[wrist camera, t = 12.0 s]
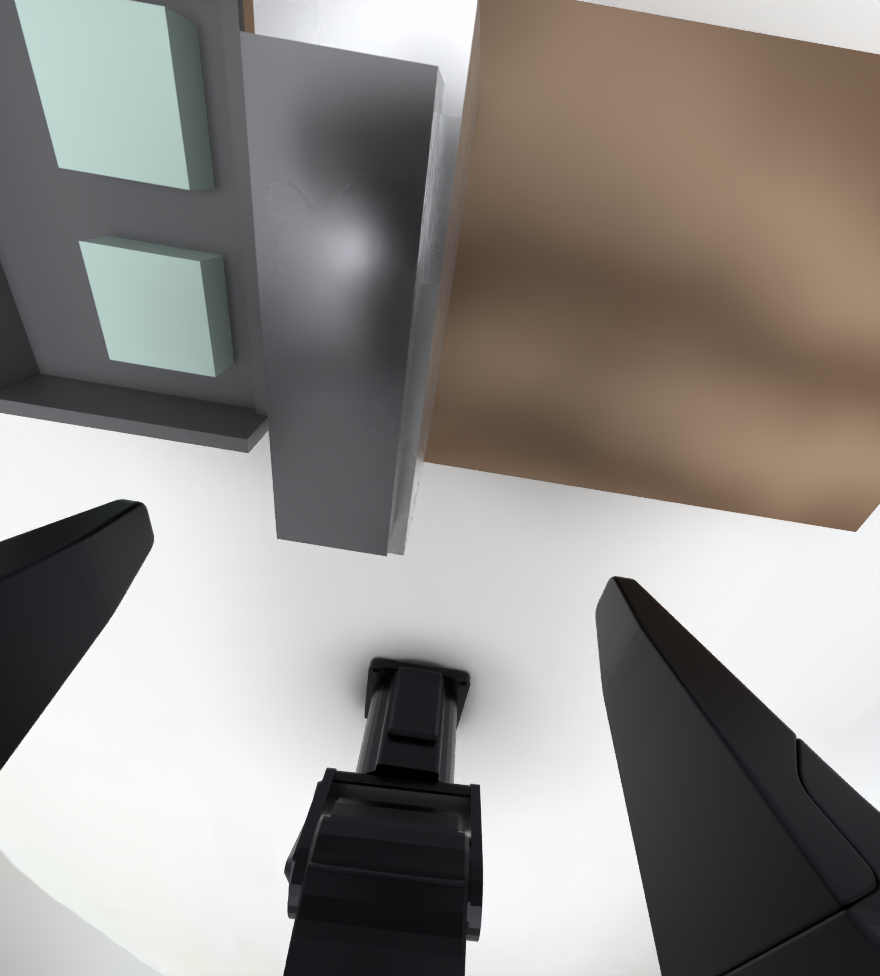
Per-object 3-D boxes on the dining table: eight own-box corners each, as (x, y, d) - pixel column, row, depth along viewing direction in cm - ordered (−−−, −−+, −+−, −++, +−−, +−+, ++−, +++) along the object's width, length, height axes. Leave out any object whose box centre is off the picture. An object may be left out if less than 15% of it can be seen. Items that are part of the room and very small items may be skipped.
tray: (277, 420, 20) (248, 452, 18) (39, 381, 20) (-24, 409, 18) (248, -39, 13) (190, -93, 10) (-139, -107, 12) (-294, -180, 10)
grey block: (432, 419, 18) (395, 590, 11) (357, 406, 18) (266, 569, 10) (481, 90, 13) (478, -52, 5) (372, 71, 13) (202, -102, 5)
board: (833, 510, 21) (855, 531, 20) (286, 421, 20) (273, 437, 19) (1138, 120, 13) (1208, 113, 12) (262, -36, 13) (238, -60, 11)
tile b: (214, 189, 15) (189, 190, 14) (95, 168, 15) (58, 167, 14) (196, 24, 13) (164, 6, 12) (57, -1, 13) (8, -22, 12)
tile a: (234, 363, 19) (215, 377, 17) (136, 347, 19) (109, 359, 17) (222, 255, 16) (199, 261, 15) (111, 236, 16) (78, 240, 15)
